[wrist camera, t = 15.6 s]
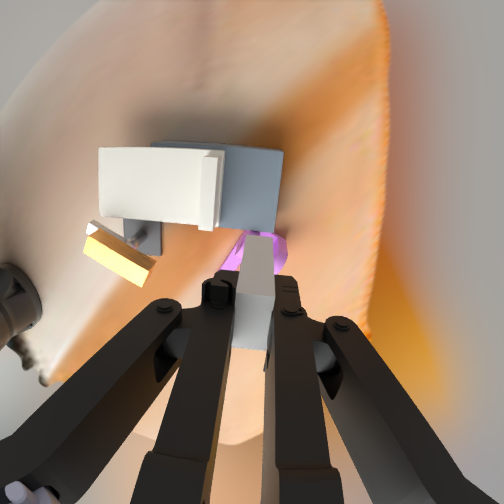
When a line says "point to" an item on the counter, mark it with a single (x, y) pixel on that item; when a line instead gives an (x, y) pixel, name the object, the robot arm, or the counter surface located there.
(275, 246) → the bracket
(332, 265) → the counter surface
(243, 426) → the counter surface
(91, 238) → the key
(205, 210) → the cover
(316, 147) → the counter surface
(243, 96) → the counter surface
